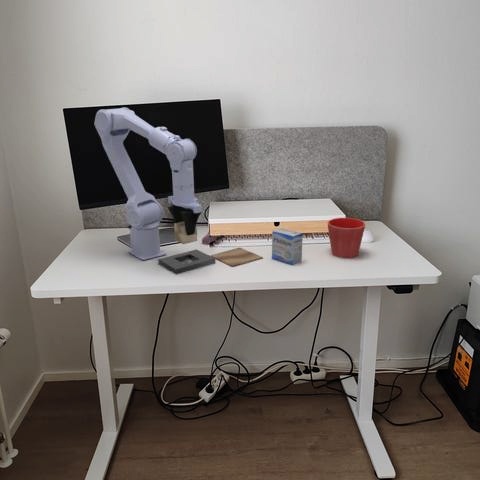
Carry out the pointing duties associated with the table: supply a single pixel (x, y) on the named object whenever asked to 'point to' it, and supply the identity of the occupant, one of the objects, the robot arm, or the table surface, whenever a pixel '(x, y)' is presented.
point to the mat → (236, 257)
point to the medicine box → (287, 246)
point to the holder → (178, 267)
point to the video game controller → (206, 239)
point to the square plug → (184, 234)
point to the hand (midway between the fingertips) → (185, 232)
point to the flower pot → (345, 236)
